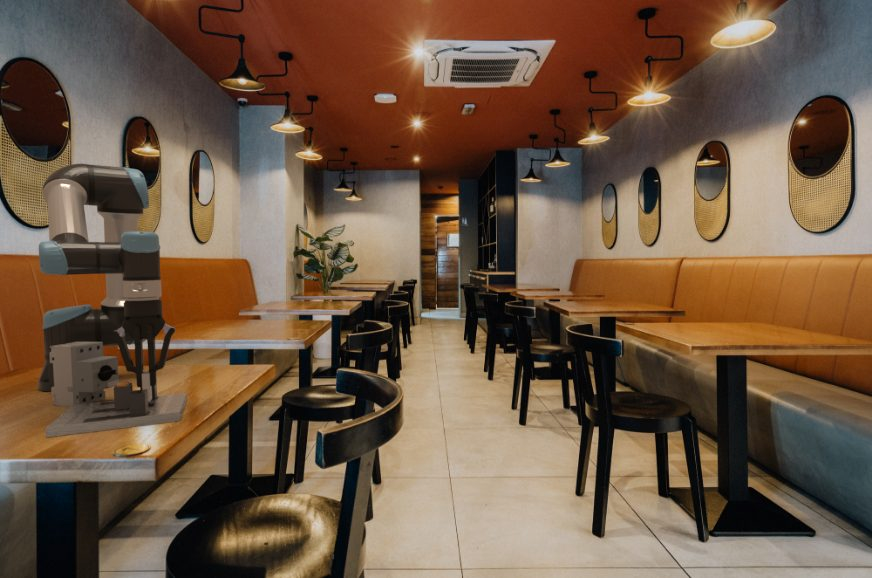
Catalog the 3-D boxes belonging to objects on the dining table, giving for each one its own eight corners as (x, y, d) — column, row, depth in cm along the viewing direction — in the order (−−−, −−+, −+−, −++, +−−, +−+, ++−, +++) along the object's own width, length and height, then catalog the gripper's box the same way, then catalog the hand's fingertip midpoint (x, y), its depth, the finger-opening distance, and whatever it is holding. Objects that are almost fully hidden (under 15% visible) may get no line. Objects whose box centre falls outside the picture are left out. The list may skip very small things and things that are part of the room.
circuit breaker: (99, 407, 119) (96, 347, 118) (52, 405, 121) (49, 346, 121) (125, 399, 126) (122, 342, 125) (79, 397, 129) (76, 341, 128)
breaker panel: (72, 413, 114) (71, 384, 114) (186, 400, 123) (185, 373, 123) (46, 437, 98) (44, 403, 97) (179, 420, 107) (178, 389, 107)
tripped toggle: (118, 405, 111) (117, 382, 111) (133, 403, 113) (132, 380, 112) (114, 409, 108) (113, 385, 108) (130, 407, 109) (129, 384, 109)
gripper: (105, 301, 105) (110, 408, 106) (173, 298, 110) (177, 400, 111) (113, 299, 112) (117, 399, 113) (176, 297, 117) (180, 393, 118)
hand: (147, 400), depth 112 cm, fingers closed
